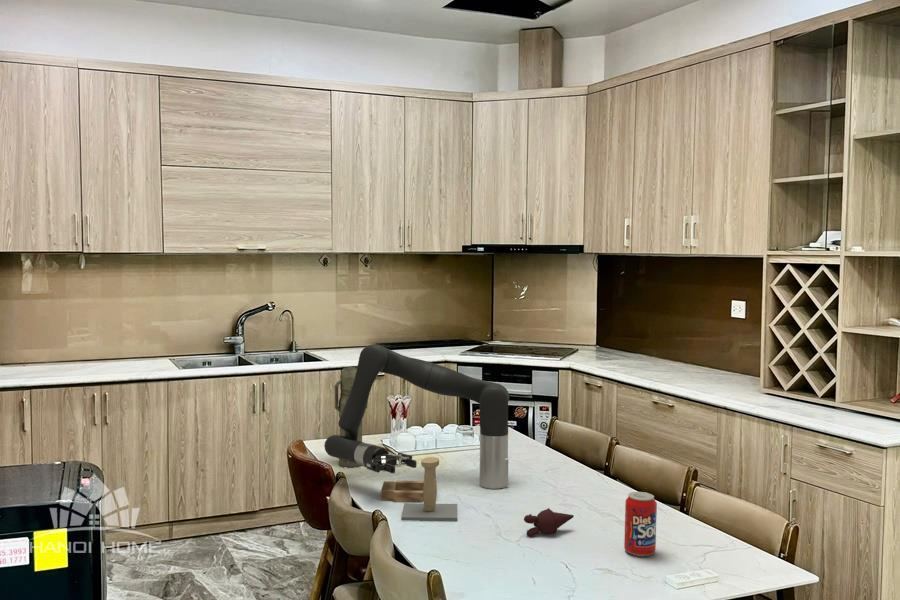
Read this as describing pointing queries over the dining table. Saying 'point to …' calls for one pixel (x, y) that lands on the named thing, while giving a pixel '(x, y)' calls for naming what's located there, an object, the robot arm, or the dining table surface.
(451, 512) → the mat
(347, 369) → the thermos
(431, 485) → the handle
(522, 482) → the dining table surface
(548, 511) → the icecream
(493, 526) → the dining table surface
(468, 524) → the dining table surface
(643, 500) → the soda can
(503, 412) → the robot arm
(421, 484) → the collar
